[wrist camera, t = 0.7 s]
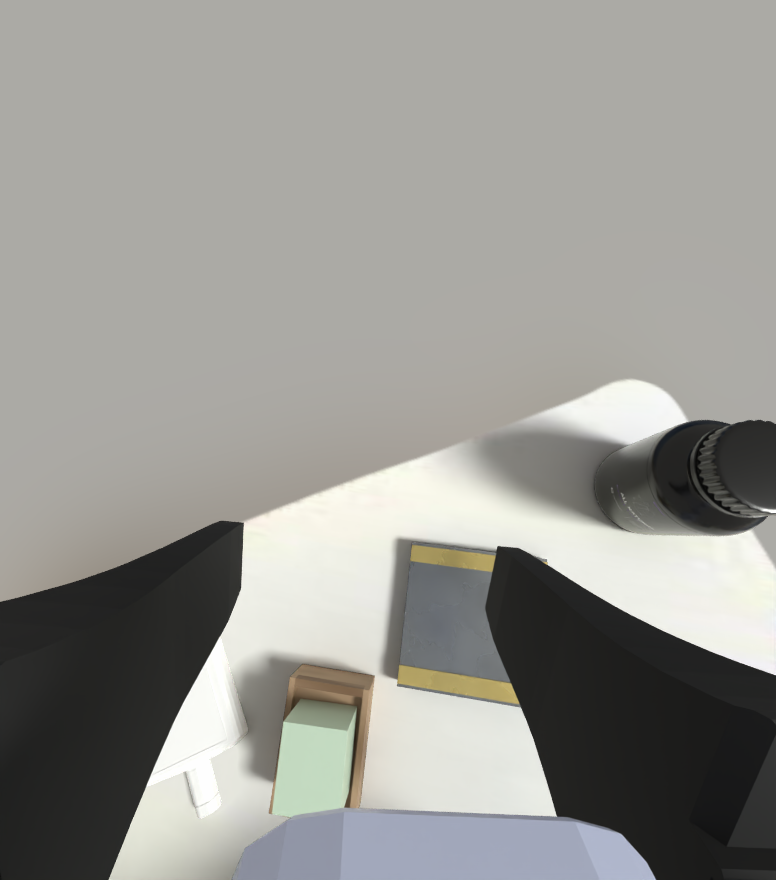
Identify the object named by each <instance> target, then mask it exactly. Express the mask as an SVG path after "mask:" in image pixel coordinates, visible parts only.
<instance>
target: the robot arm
mask: <svg viewBox="0 0 776 880" xmlns="http://www.w3.org/2000/svg"><path fill="white" fill-rule="evenodd" d="M243 527H244V523H240V522H229V521H219V522H217V523H214V524H211V525H209V526H207V527H205V528H203V529H201V530H199V531H196V532H195V533H192V534H190V535H188V536H186V537H184V538H182V539H180V540H178V541H176V542H174V543H171V544H169V545H167V546H165V547H163V548H161V549H158V550H156V551H154V552H152V553H149V554H147V555H145V556H142V557H140V558H138V559H135V560H133V561H131V562H128V563H126V564H124V565H121V566H118V567H116V568H113V569H110V570H108V571H105V572H102V573H99V574H96V575H93V576H91V577H88V578H85V579H82V580H79V581H76V582H73V583H69V584H66V585H62V586H59V587H55V588H51V589H48V590H44V591H40V592H37V593H34V594H30V595H26V596H22V597H19V598H15V599H11V600H6V601H2V602H0V880H109V877H110V875H111V872H112V869H113V867H114V864H115V862H116V859H117V857H118V854H119V852H120V849H121V847H122V844H123V842H124V839H125V837H126V834H127V832H128V829H129V827H130V824H131V822H132V819H133V817H134V814H135V812H136V810H137V807H138V805H139V802H140V800H141V798H142V795H143V793H144V791H145V788H146V786H147V783H148V781H149V779H150V776H151V774H152V771H153V769H154V767H155V764H156V762H157V760H158V757H159V755H160V753H161V751H162V748H163V746H164V744H165V741H166V739H167V737H168V735H169V732H170V730H171V728H172V725H173V723H174V721H175V719H176V717H177V715H178V713H179V711H180V709H181V707H182V705H183V703H184V701H185V699H186V697H187V695H188V694H189V692H190V690H191V688H192V686H193V684H194V683H195V681H196V679H197V677H198V675H199V674H200V672H201V670H202V668H203V666H204V665H205V663H206V661H207V659H208V657H209V656H210V654H211V652H212V650H213V648H214V647H215V645H216V643H217V641H218V639H219V637H220V636H221V634H222V632H223V630H224V628H225V626H226V624H227V623H228V620H229V618H230V616H231V613H232V611H233V608H234V606H235V603H236V600H237V598H238V595H239V592H240V590H241V576H242V551H243ZM485 611H486V615H487V619H488V623H489V627H490V630H491V634H492V637H493V641H494V643H495V646H496V649H497V651H498V653H499V656H500V658H501V661H502V663H503V666H504V668H505V671H506V673H507V675H508V678H509V680H510V682H511V685H512V687H513V689H514V692H515V694H516V697H517V699H518V701H519V704H520V706H521V709H522V711H523V713H524V716H525V718H526V720H527V723H528V726H529V728H530V731H531V734H532V736H533V739H534V742H535V745H536V748H537V752H538V755H539V758H540V761H541V764H542V768H543V771H544V774H545V777H546V780H547V784H548V787H549V790H550V794H551V797H552V801H553V804H554V808H555V811H556V815H557V817H550V816H527V815H504V814H480V813H457V812H433V811H410V810H387V809H363V808H338V809H332V810H325V811H319V812H312V813H306V814H299V815H294V816H293V817H291V818H290V819H288V820H287V821H285V822H283V823H282V824H280V825H279V826H277V827H276V828H274V829H273V830H271V831H270V832H268V833H267V834H265V835H264V836H262V837H261V838H259V839H257V840H256V841H255V842H253V843H252V844H251V845H249V846H248V847H246V848H245V850H244V852H243V854H242V856H241V859H240V861H239V863H238V866H237V868H236V870H235V873H234V875H233V877H232V880H776V675H773V674H770V673H767V672H764V671H762V670H759V669H756V668H753V667H750V666H747V665H745V664H742V663H739V662H736V661H734V660H731V659H728V658H726V657H723V656H721V655H718V654H715V653H713V652H710V651H708V650H706V649H703V648H701V647H698V646H696V645H694V644H691V643H689V642H687V641H684V640H682V639H680V638H677V637H675V636H673V635H671V634H668V633H666V632H664V631H662V630H660V629H658V628H656V627H654V626H652V625H650V624H648V623H646V622H644V621H642V620H640V619H638V618H636V617H634V616H632V615H630V614H628V613H626V612H624V611H622V610H620V609H619V608H617V607H615V606H613V605H612V604H610V603H608V602H606V601H605V600H603V599H601V598H599V597H598V596H596V595H594V594H593V593H591V592H589V591H588V590H586V589H584V588H583V587H581V586H580V585H578V584H576V583H575V582H573V581H572V580H570V579H568V578H567V577H565V576H564V575H562V574H561V573H559V572H558V571H556V570H554V569H553V568H551V567H550V566H548V565H547V564H545V563H544V562H542V561H540V560H539V559H537V558H536V557H534V556H532V555H531V554H529V553H527V552H525V551H523V550H521V549H519V548H511V547H501V546H498V547H497V552H496V557H495V561H494V566H493V571H492V576H491V581H490V586H489V590H488V595H487V600H486V605H485Z"/></svg>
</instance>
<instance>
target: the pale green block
mask: <svg viewBox="0 0 776 880" xmlns="http://www.w3.org/2000/svg"><path fill="white" fill-rule="evenodd" d="M356 716H357V706H351V705H344V704H337V703H330V702H322V701H315V700H308V699H300V701H299V702H298V703H297V705H296V706H295V707H294V709H293V710H292V711H291V712H290V714H289V715H288V716H287V718H286V719H285V720H284V722H283V729H282V737H281V745H280V753H279V761H278V769H277V777H276V785H275V793H274V801H273V809H272V814H274V815H280V816H285V817H293V816H294V815H299V814H306V813H312V812H319V811H325V810H332V809H338V808H344V806H345V803H346V800H347V796H348V793H349V790H350V783H351V772H352V761H353V750H354V738H355V727H356Z"/></svg>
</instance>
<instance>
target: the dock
mask: <svg viewBox="0 0 776 880" xmlns="http://www.w3.org/2000/svg"><path fill="white" fill-rule="evenodd" d="M495 557H496V552H488V551H480V550H472V549H464V548H457V547H449V546H441V545H433V544H425V543H418V542H412V550H411V559H410V569H409V578H408V588H407V597H406V607H405V616H404V626H403V635H402V645H401V654H400V663H399V673H398V682H397V686H399V687H405V688H411V689H417V690H423V691H429V692H434V693H440V694H446V695H452V696H458V697H463V698H469V699H475V700H481V701H487V702H493V703H498V704H504V705H510V706H516V707H521V706H520V704H519V701H518V699H517V697H516V694H515V692H514V689H513V687H512V685H511V682H510V680H509V678H508V675H507V673H506V671H505V668H504V666H503V663H502V661H501V658H500V656H499V653H498V651H497V649H496V646H495V643H494V641H493V637H492V634H491V630H490V627H489V623H488V619H487V615H486V611H485V605H486V600H487V595H488V590H489V586H490V581H491V576H492V571H493V566H494V561H495ZM537 559H539V560H540V561H542V562H544V563H545V564H547V559H542V558H537Z"/></svg>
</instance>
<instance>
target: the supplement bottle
mask: <svg viewBox="0 0 776 880" xmlns="http://www.w3.org/2000/svg"><path fill="white" fill-rule="evenodd" d="M595 493H596V497H597V500H598V503H599V505H600V507H601V509H602V510H603V512H604V513H605V514H606V515H607V517H608V518H609V519H610V520H611V521H613V522H614V523H615V524H617V525H618V526H620V527H621V528H623V529H625V530H628V531H630V532H633V533H638V534H645V535H683V536H728V535H736V534H740V533H743V532H746V531H748V530H751V529H753V528H754V527H756V526H757V525H759V524H760V523H761V522H763V521H764V520H765V519H766V518H767V517H768V516H775V515H776V424H774V423H772V422H770V421H766V422H765V421H762V420H756V421H752V420H747V421H744V422H738V423H735V424H732V425H731V424H728V423H724V422H720V421H713V420H697V421H690V422H686V423H683V424H680V425H677V426H675V427H672V428H670V429H667V430H665V431H662V432H660V433H657V434H655V435H652V436H650V437H648V438H645V439H643V440H640V441H638V442H635V443H633V444H631V445H628V446H626V447H623V448H621V449H619V450H617V451H615V452H613V453H612V454H610V455H609V456H608V457H607V458H606V459H605V460H604V461H603V462H602V463H601V465H600V467H599V469H598V471H597V474H596V477H595Z"/></svg>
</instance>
